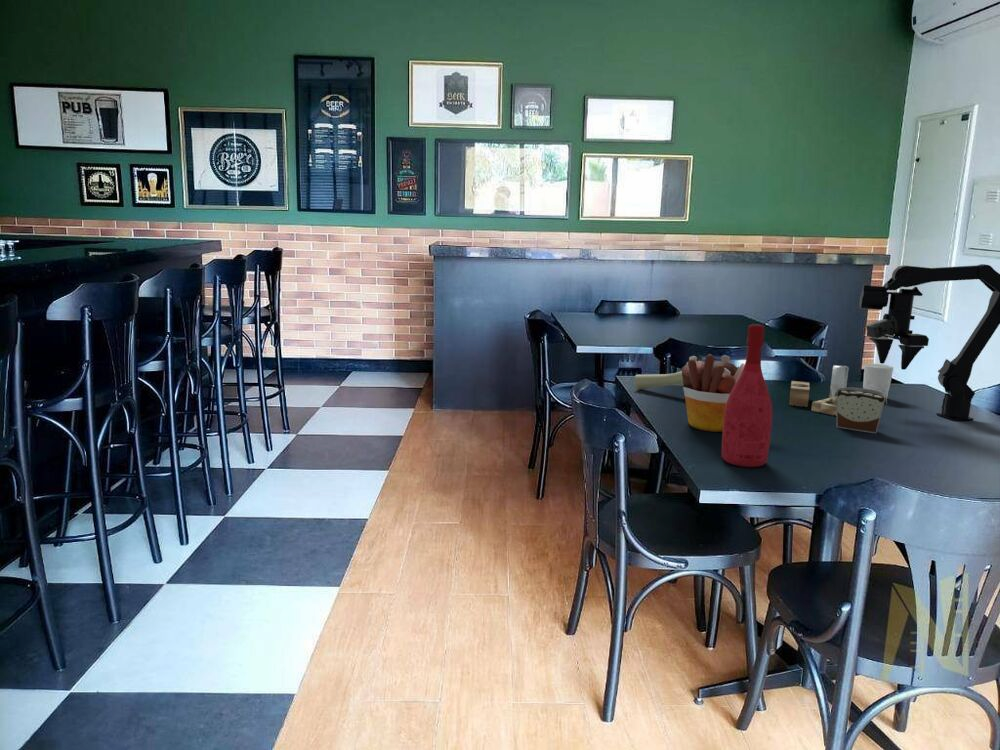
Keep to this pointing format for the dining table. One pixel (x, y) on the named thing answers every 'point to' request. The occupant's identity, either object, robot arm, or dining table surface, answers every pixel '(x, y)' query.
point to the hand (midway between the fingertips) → (892, 366)
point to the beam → (799, 393)
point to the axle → (837, 381)
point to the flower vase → (658, 380)
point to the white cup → (877, 377)
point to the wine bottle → (748, 410)
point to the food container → (859, 409)
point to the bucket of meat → (708, 390)
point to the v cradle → (824, 407)
